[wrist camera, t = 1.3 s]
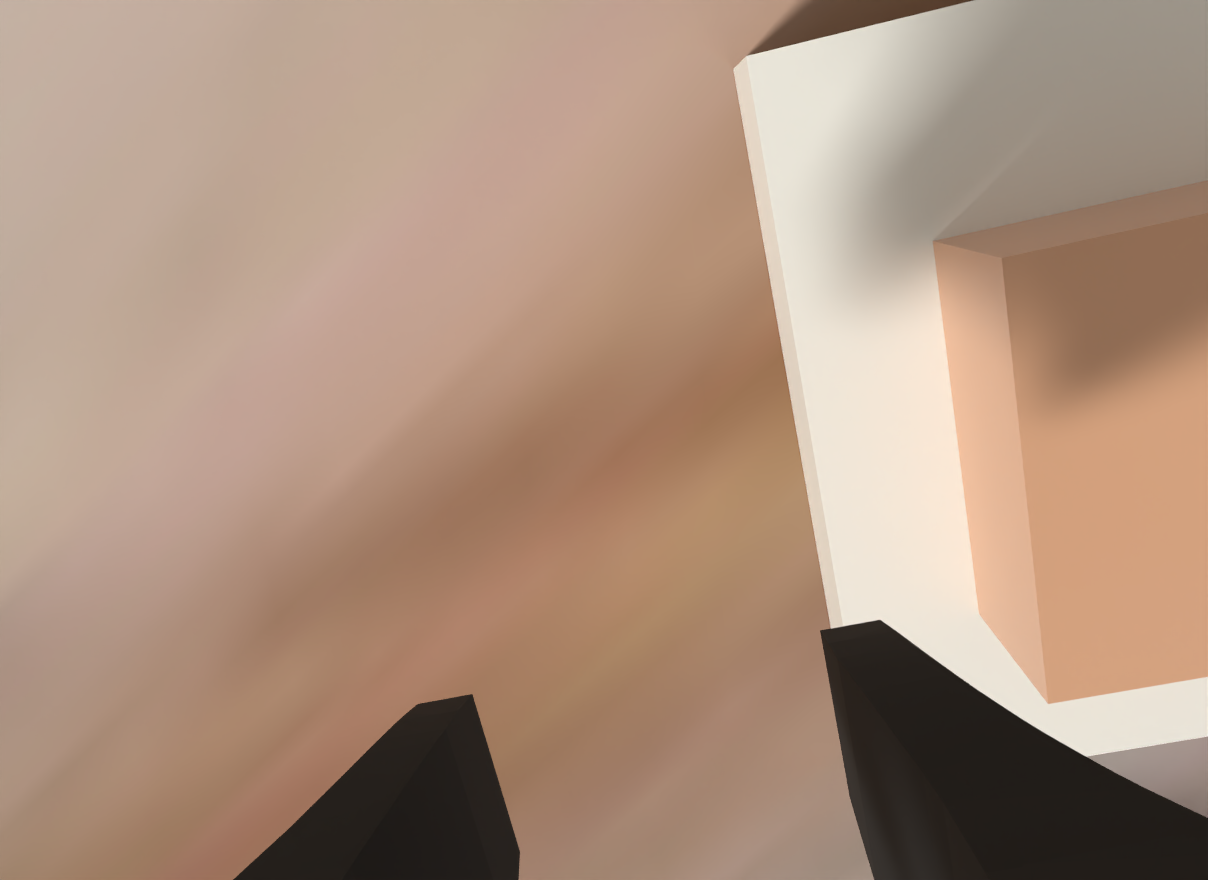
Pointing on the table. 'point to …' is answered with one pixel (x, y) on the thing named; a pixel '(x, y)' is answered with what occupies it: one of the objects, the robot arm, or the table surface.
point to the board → (910, 288)
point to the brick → (1086, 437)
